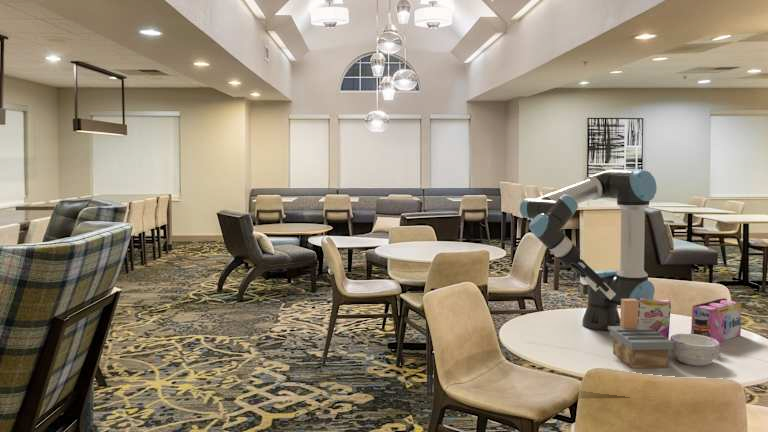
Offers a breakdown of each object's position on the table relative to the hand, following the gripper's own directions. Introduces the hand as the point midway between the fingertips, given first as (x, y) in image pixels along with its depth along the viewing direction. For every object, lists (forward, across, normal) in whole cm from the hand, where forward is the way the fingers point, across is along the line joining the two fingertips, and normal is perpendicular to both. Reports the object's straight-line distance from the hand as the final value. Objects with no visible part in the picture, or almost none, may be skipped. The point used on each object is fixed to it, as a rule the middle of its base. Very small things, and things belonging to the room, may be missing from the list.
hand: (605, 292), depth 227 cm
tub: (+22, +9, -9) cm, 25 cm away
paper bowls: (+35, +11, +4) cm, 37 cm away
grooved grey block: (+17, +8, -4) cm, 19 cm away
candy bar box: (+32, -11, +1) cm, 34 cm away
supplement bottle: (+42, -3, +11) cm, 43 cm away
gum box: (+52, -17, +20) cm, 58 cm away
